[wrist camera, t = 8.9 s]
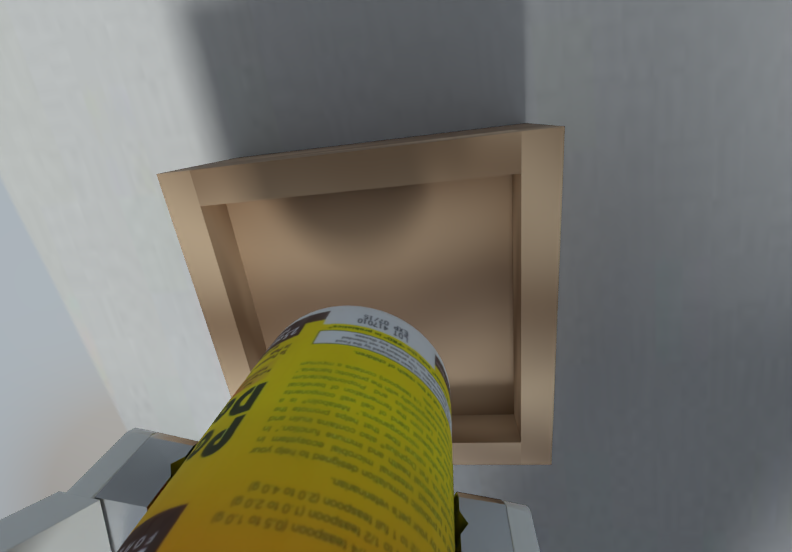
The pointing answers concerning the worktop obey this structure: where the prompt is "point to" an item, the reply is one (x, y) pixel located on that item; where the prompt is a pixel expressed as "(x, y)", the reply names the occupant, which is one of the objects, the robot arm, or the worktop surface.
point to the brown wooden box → (396, 262)
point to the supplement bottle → (320, 449)
